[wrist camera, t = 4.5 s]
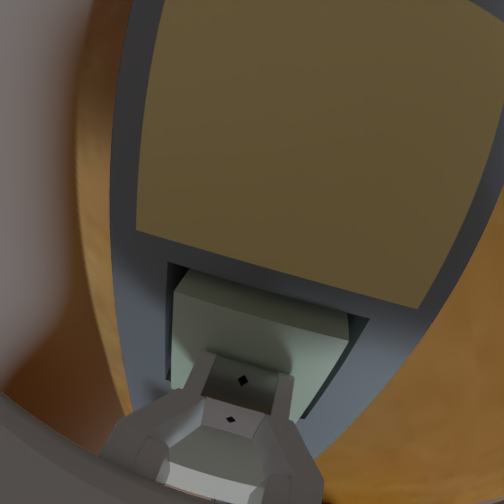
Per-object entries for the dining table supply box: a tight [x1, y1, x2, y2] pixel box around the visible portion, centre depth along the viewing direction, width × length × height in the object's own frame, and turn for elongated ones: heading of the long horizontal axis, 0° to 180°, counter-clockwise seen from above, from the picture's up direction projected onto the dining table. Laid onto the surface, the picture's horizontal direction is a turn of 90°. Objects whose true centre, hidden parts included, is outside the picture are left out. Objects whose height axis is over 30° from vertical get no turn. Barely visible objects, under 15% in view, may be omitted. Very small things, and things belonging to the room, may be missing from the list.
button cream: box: [166, 424, 265, 504], centre depth 13 cm, size 5×5×4 cm
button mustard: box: [136, 0, 504, 309], centre depth 5 cm, size 5×5×4 cm
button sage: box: [171, 268, 349, 424], centre depth 11 cm, size 5×5×4 cm
